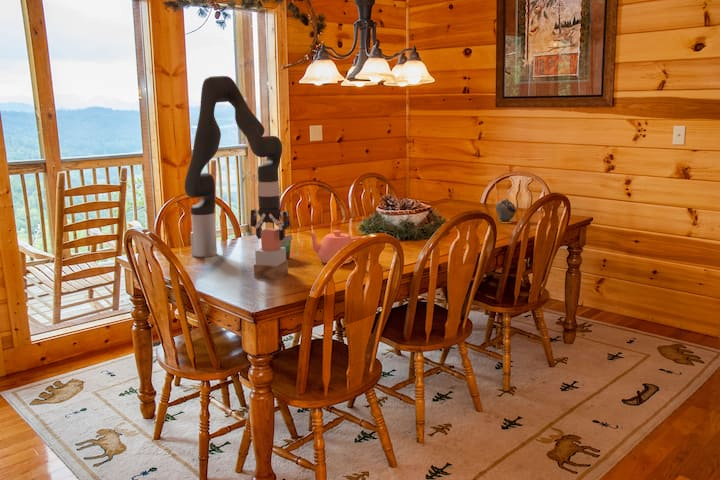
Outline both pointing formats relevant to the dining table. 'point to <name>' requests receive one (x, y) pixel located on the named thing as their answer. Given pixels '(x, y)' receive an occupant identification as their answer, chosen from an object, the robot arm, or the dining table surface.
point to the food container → (287, 245)
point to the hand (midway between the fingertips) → (270, 239)
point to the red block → (270, 239)
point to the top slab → (270, 257)
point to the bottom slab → (271, 271)
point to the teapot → (331, 244)
